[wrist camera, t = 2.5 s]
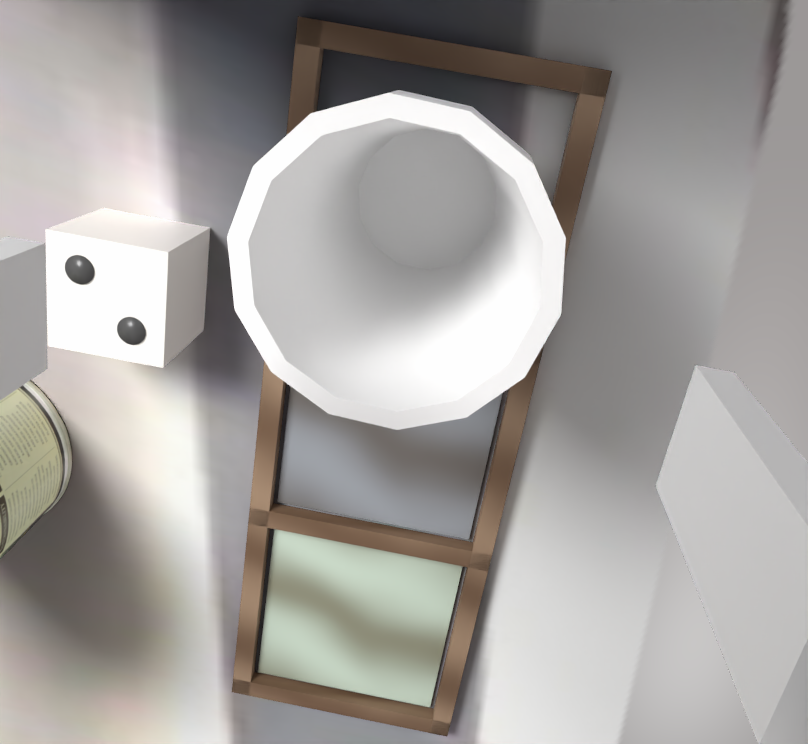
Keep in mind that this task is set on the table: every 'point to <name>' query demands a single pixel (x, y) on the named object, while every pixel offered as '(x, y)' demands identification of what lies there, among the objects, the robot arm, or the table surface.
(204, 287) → the white die
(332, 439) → the walnut frame
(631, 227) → the table surface
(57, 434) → the coffee can
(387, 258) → the foam cup
